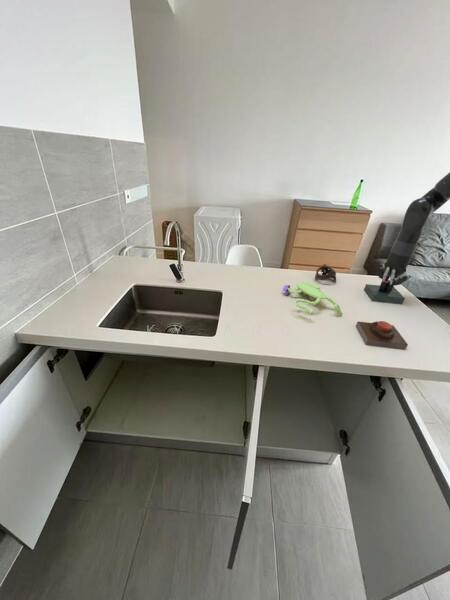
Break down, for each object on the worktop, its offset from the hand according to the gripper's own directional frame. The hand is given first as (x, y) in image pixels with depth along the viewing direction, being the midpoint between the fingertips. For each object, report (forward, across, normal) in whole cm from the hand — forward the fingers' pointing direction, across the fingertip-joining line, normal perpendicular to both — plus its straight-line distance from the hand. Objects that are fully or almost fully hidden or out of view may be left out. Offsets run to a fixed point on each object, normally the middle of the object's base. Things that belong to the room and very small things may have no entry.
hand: (384, 290), depth 104 cm
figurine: (+3, +6, +35) cm, 35 cm away
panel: (+3, 0, 0) cm, 3 cm away
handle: (0, 0, 0) cm, 0 cm away
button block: (+3, -20, +26) cm, 33 cm away
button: (-1, -20, +26) cm, 33 cm away
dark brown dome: (+3, +21, +13) cm, 25 cm away
